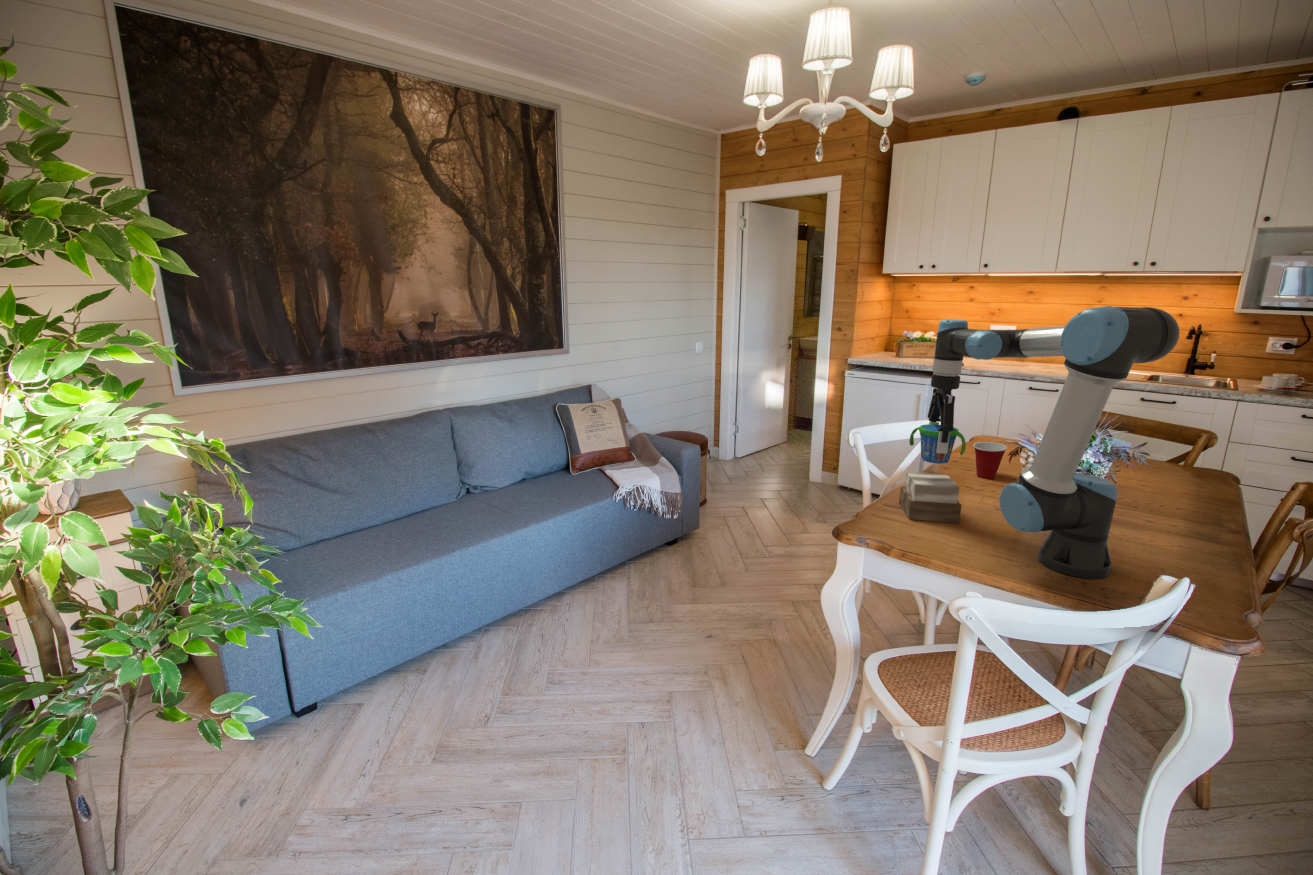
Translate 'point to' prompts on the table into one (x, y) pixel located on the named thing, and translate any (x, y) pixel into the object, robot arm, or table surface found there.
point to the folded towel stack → (930, 498)
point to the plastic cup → (988, 458)
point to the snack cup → (935, 443)
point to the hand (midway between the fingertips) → (936, 447)
